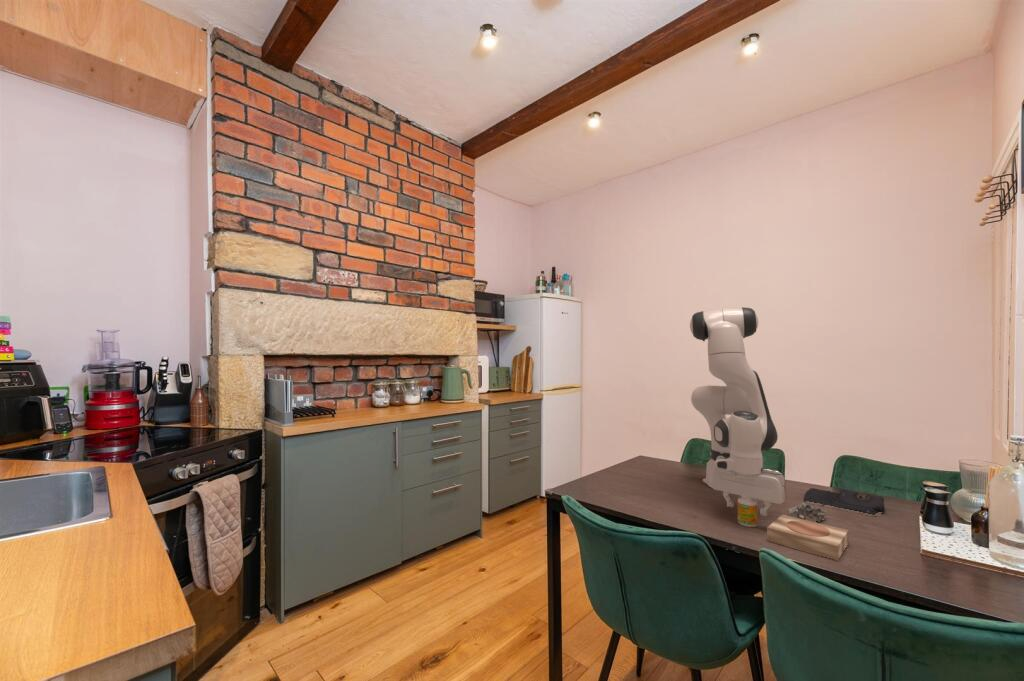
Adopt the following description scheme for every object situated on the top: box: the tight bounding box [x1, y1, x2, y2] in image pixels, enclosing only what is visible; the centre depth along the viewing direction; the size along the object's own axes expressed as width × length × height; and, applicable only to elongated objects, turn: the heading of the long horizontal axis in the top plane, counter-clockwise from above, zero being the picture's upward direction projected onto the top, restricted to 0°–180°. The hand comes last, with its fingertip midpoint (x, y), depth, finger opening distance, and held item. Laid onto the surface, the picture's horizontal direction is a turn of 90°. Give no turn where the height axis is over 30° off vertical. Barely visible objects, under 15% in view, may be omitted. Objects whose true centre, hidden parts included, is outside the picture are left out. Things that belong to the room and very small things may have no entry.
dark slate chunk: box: [803, 487, 885, 515], centre depth 150 cm, size 15×22×5 cm
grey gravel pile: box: [788, 501, 827, 523], centre depth 137 cm, size 11×8×4 cm
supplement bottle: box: [737, 496, 759, 528], centre depth 133 cm, size 5×5×10 cm
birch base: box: [766, 514, 850, 561], centre depth 120 cm, size 14×16×4 cm
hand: (746, 510), depth 133 cm, fingers open, 8 cm apart
